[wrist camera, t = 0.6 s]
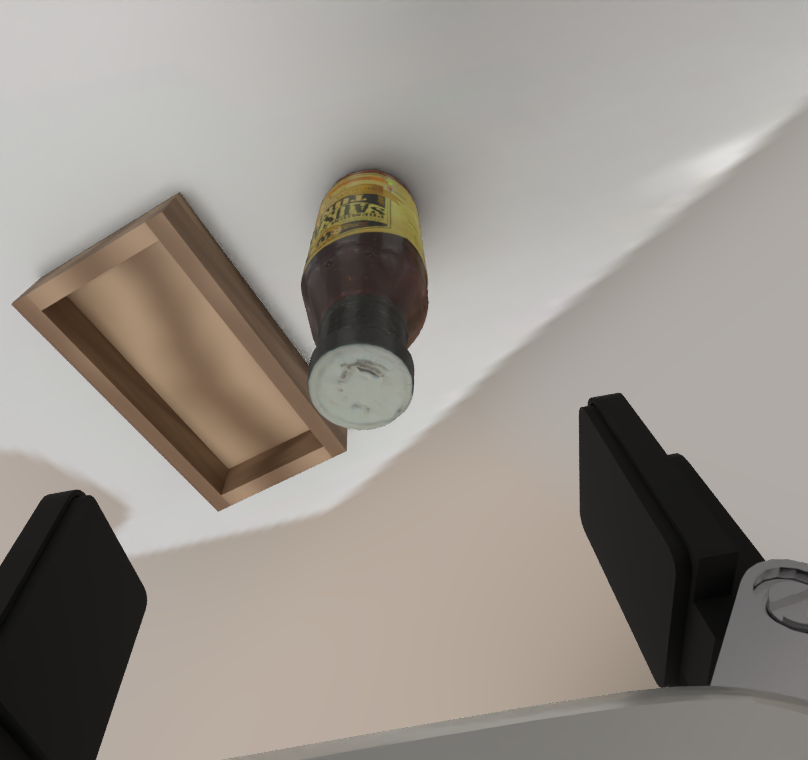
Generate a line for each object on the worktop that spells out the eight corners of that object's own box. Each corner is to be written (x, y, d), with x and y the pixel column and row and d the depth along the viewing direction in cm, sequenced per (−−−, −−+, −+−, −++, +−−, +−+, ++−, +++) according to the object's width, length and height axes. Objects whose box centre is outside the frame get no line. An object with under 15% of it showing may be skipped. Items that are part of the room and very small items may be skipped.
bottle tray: (179, 192, 38) (161, 211, 35) (347, 418, 48) (346, 451, 44) (40, 278, 40) (11, 304, 37) (227, 476, 50) (218, 511, 47)
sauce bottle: (376, 143, 37) (388, 267, 20) (436, 223, 40) (489, 390, 23) (295, 209, 39) (245, 373, 22) (358, 281, 42) (355, 475, 25)
